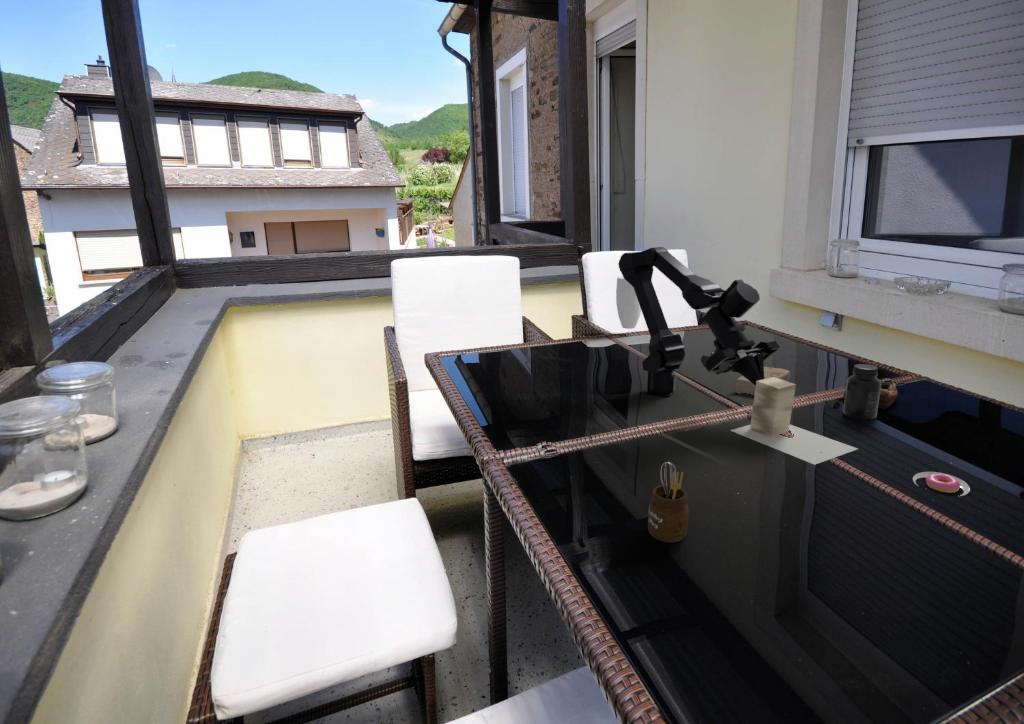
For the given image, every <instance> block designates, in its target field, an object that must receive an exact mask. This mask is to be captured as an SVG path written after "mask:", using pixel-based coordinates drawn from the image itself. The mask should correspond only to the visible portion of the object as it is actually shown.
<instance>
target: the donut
mask: <svg viewBox="0 0 1024 724" xmlns="http://www.w3.org/2000/svg"><path fill="white" fill-rule="evenodd" d="M922 478H925V482H926V485H927V486H928V487H929V488H930V489H933V490H935V491H937V492H942V493H949V494H952V493H957V492H958V491H959V490H960V488H961V489H962V490H963V493H962V494H959V495H960V496H959V497H963V496H966V495H968V494H969V493H970V492H971V488H970V485H969V484H968V483H966V482H965V481H964V480H963V479H961V478H958V477H957V476H954V475H952V474H947V473H943V472H940V471H939V472H938V471H937V472H936V471H922V472H921V471H920V472H917V473H915V474H914V475H913V477H912V482H913V483H914V485H916V486H918V487H919V485H918V484H917V482H916V481H917V480H918V479H922Z"/></svg>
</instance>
